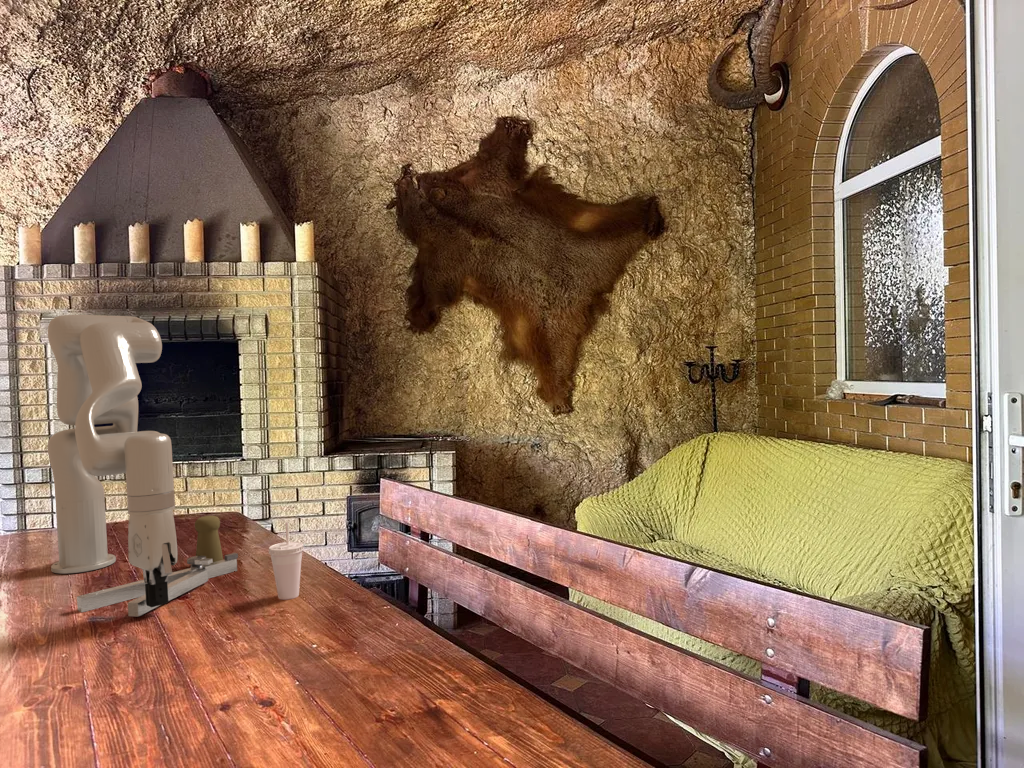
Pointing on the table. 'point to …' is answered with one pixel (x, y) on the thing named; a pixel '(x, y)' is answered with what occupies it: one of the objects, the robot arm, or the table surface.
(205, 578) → the tongs jaw
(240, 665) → the table surface
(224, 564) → the tongs fixed
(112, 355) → the robot arm
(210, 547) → the olive pepper mill
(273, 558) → the smoothie
